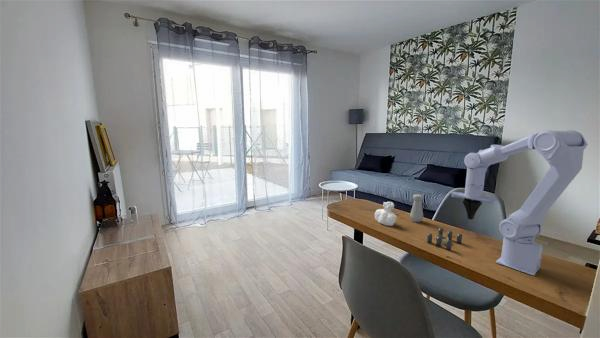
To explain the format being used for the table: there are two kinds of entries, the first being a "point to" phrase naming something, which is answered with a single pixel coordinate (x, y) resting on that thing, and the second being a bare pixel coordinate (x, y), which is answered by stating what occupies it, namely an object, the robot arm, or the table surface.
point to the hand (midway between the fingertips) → (470, 218)
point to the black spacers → (449, 242)
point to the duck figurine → (386, 214)
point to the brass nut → (444, 239)
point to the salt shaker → (417, 208)
